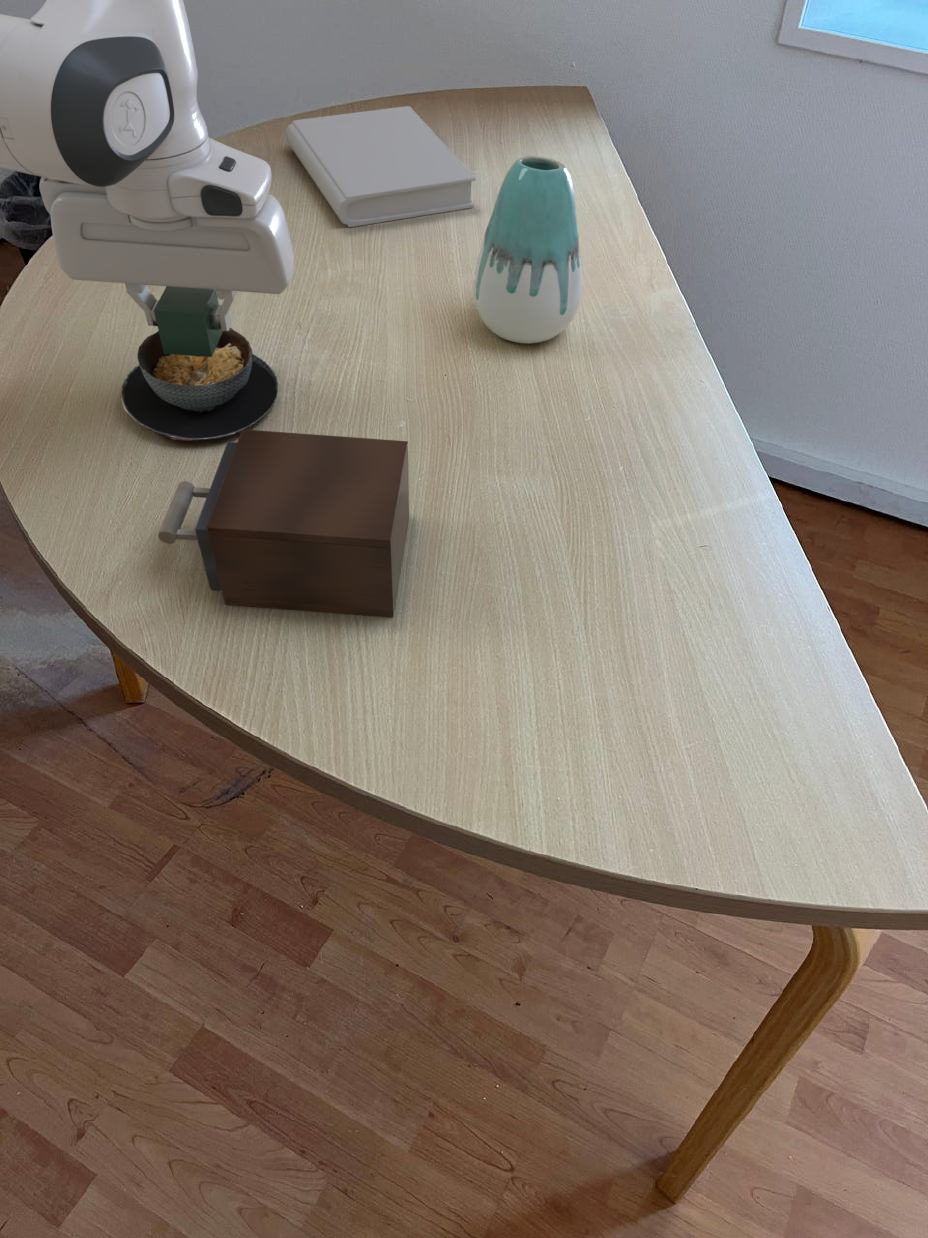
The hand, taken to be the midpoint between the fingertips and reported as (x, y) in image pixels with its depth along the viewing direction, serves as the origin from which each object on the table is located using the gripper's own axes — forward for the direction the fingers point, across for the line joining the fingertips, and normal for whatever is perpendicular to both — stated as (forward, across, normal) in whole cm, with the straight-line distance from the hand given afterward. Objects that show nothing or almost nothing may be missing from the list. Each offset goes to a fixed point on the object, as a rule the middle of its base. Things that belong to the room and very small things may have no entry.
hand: (190, 325), depth 86 cm
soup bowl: (+8, 0, 0) cm, 8 cm away
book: (+8, +10, +51) cm, 52 cm away
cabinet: (+8, +15, -21) cm, 27 cm away
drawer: (+7, +11, -21) cm, 25 cm away
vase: (+8, +31, +17) cm, 36 cm away
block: (+2, 0, 0) cm, 2 cm away
